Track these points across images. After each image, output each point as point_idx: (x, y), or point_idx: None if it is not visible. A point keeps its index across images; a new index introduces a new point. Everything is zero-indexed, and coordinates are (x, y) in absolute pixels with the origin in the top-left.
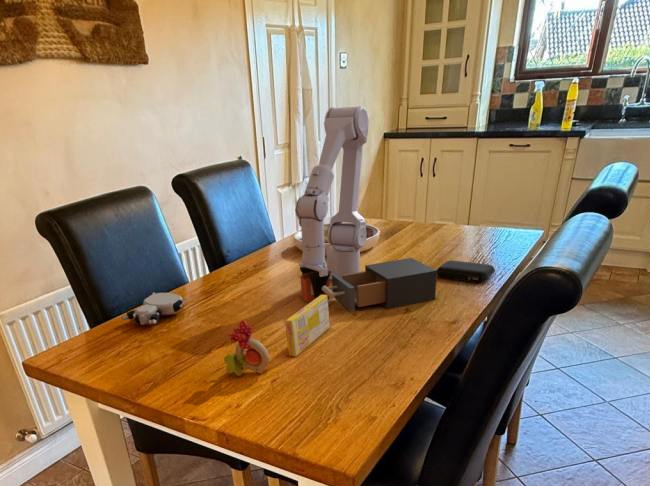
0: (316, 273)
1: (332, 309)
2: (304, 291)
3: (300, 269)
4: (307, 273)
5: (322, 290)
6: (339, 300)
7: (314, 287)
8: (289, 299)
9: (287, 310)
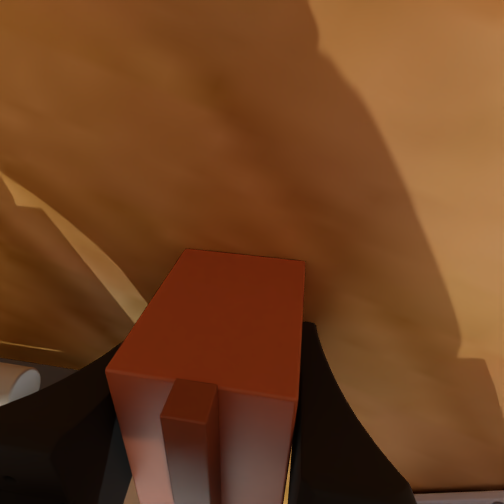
0: (9, 499)
1: (31, 307)
2: (210, 291)
3: (355, 487)
4: (195, 463)
5: (9, 367)
6: (59, 374)
7: (102, 359)
8: (316, 166)
9: (74, 52)
